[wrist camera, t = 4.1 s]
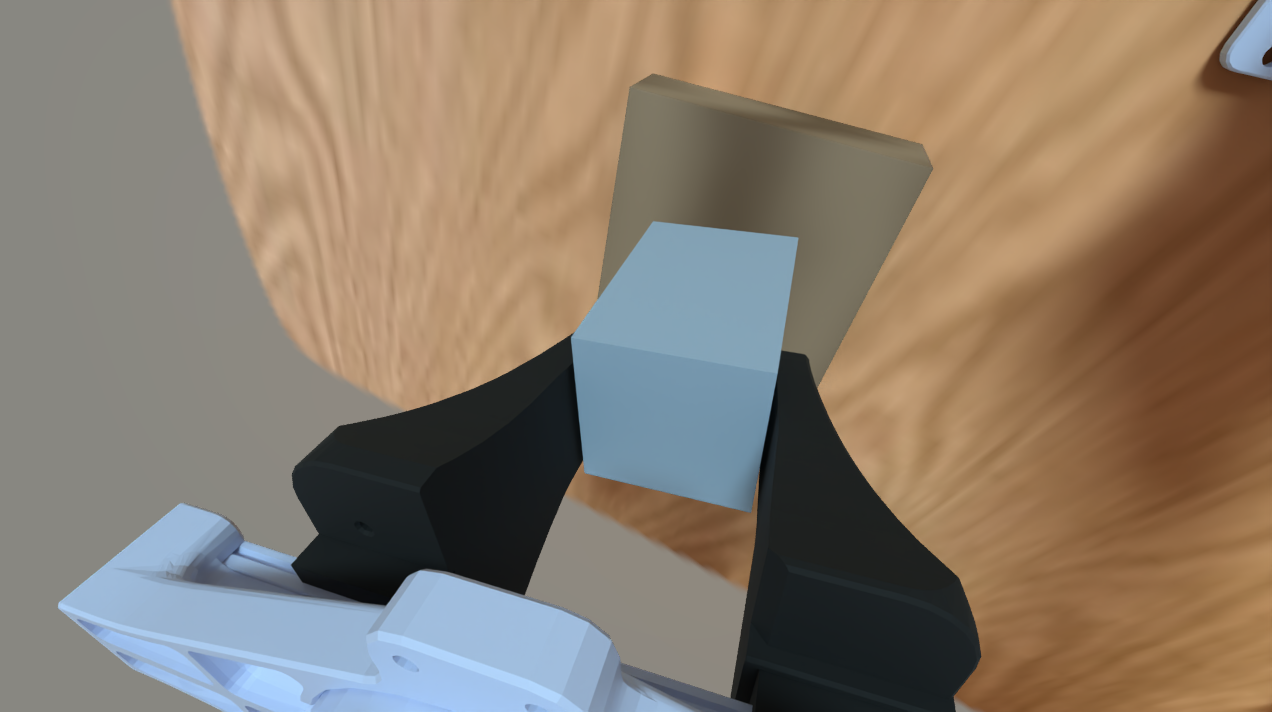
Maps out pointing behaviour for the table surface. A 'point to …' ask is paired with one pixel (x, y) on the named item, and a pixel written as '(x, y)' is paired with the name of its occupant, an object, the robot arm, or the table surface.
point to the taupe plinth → (767, 194)
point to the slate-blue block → (685, 362)
